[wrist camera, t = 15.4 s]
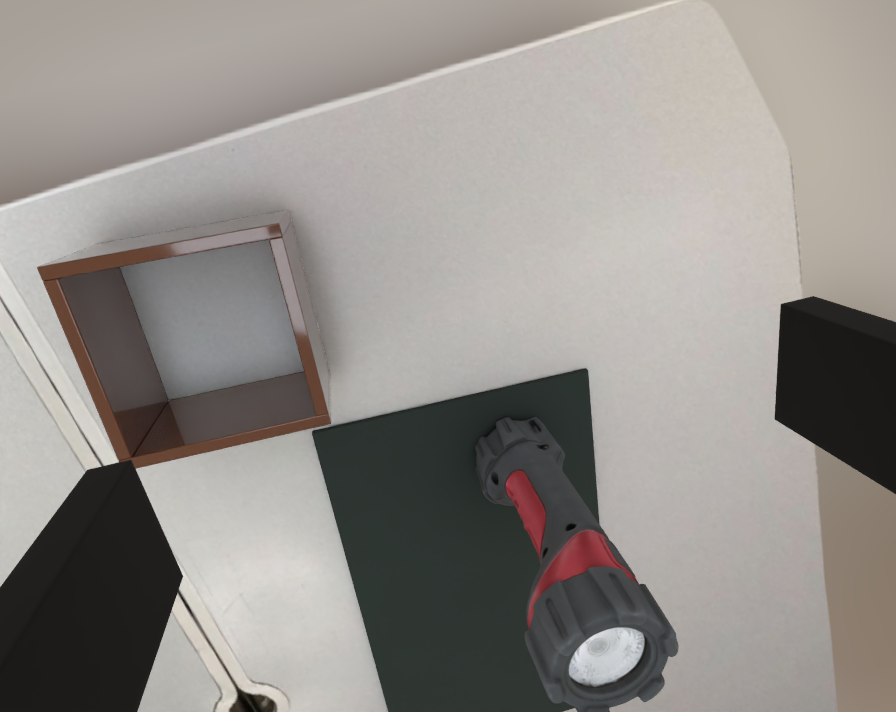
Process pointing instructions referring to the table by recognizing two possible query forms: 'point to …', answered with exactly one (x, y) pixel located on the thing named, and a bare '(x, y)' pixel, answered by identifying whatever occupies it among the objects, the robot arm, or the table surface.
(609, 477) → the table surface
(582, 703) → the flashlight
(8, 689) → the robot arm
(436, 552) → the mat
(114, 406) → the brown open box
